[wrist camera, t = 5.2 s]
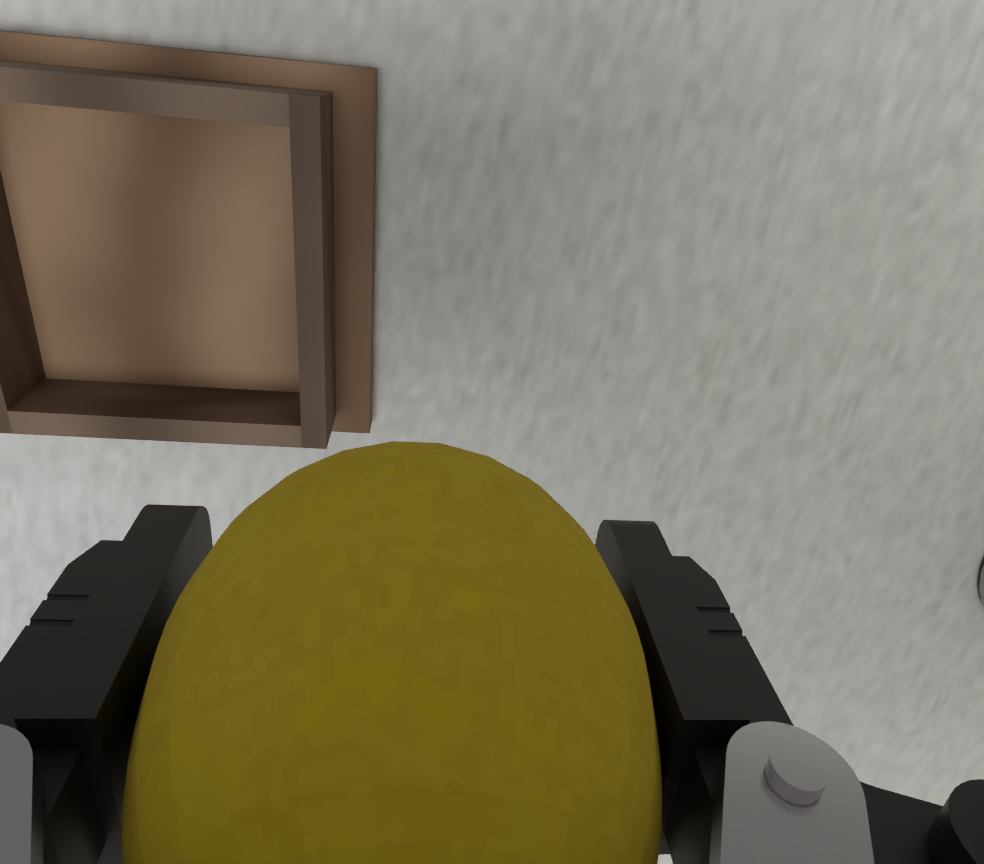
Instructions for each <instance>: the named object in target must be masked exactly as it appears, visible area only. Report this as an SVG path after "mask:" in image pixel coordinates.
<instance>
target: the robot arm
mask: <svg viewBox="0 0 984 864" xmlns="http://www.w3.org/2000/svg"><path fill="white" fill-rule="evenodd" d="M595 547H596V548H597V550H598V552H599V554H600V556H601V558H602V559H603V561H604V563H605V565H606V567H607V568H608V570H609V572H610V574H611V576H612V577H613V579H614V581H615V583H616V585H617V587H618V589H619V590H620V592H621V594H622V596H623V598H624V600H625V602H626V604H627V606H628V608H629V611H630V613H631V616H632V618H633V621H634V623H635V626H636V628H637V631H638V635H639V638H640V642H641V645H642V649H643V652H644V657H645V662H646V667H647V672H648V677H649V682H650V688H651V694H652V700H653V706H654V712H655V718H656V724H657V732H658V741H659V749H660V758H661V776H662V829H661V837H660V845H659V853H658V854H671V858H672V861H673V864H984V780H980V779H979V780H970V781H967V782H964V783H961V784H960V785H959V786H957V787H956V788H955V789H954V790H953V792H952V793H951V795H950V796H949V798H948V800H947V801H946V803H945V804H944V806H940V805H937V804H933V803H930V802H926V801H923V800H919V799H915V798H912V797H908V796H905V795H901V794H898V793H894V792H891V791H887V790H884V789H880V788H877V787H874V786H871V785H868V784H865V783H863V782H860V781H859V779H858V778H857V776H856V775H855V773H854V771H853V770H852V768H851V767H850V766H849V765H848V763H847V762H846V761H845V760H844V759H843V758H842V757H841V756H840V755H839V754H838V753H837V752H836V751H835V750H834V749H833V748H832V747H830V746H829V745H828V744H827V743H825V742H824V741H822V740H821V739H819V738H818V737H816V736H815V735H813V734H811V733H809V732H807V731H805V730H803V729H800V728H797V727H795V726H793V724H792V722H791V720H790V718H789V716H788V715H787V713H786V711H785V709H784V707H783V705H782V703H781V702H780V700H779V698H778V696H777V694H776V692H775V690H774V689H773V687H772V685H771V683H770V681H769V679H768V677H767V675H766V674H765V672H764V670H763V668H762V666H761V664H760V662H759V661H758V659H757V657H756V655H755V653H754V651H753V649H752V647H751V646H750V644H749V642H748V640H747V638H746V636H743V635H742V629H741V627H740V625H739V623H738V621H737V619H736V618H735V616H734V614H733V613H730V606H729V605H728V603H727V601H726V599H725V597H724V595H723V593H722V591H721V590H720V588H719V586H718V584H717V582H716V580H715V579H714V578H712V577H711V576H710V575H709V574H708V573H707V572H706V571H705V570H704V569H702V568H701V567H700V566H699V565H698V564H697V563H696V562H695V561H694V560H693V559H691V558H690V557H686V556H672V555H671V553H670V551H669V549H668V546H667V544H666V542H665V540H664V538H663V536H662V534H661V532H660V530H659V528H658V526H657V524H656V523H655V522H653V521H622V520H603V521H602V523H601V524H600V527H599V530H598V534H597V539H596V544H595ZM212 548H213V545H212V536H211V527H210V519H209V514H208V511H207V509H206V508H205V507H204V506H177V505H146V506H145V507H144V508H143V509H142V510H141V512H140V513H139V515H138V517H137V518H136V520H135V521H134V523H133V525H132V526H131V528H130V530H129V531H128V533H127V535H126V536H125V538H124V539H123V541H109V540H101V541H100V542H98V543H97V544H96V545H94V546H93V547H91V548H90V549H89V550H87V551H86V552H85V553H83V554H82V555H80V556H79V557H78V558H76V559H75V560H74V561H72V562H71V563H70V564H68V565H67V567H66V568H65V569H64V571H63V572H62V574H61V575H60V577H59V578H58V580H57V581H56V583H55V584H54V585H53V587H52V588H51V590H50V591H49V593H48V594H47V595H48V597H47V600H43V601H42V603H41V604H40V606H39V607H38V609H37V610H36V612H35V613H34V615H33V616H32V617H31V619H30V625H29V626H25V628H24V629H23V631H22V632H21V633H20V635H19V636H18V638H17V639H16V641H15V642H14V644H13V645H12V646H11V648H10V649H9V651H8V652H7V654H6V655H5V657H4V658H3V660H2V661H1V662H0V864H124V862H123V849H122V820H123V798H124V789H125V781H126V772H127V764H128V758H129V753H130V747H131V742H132V737H133V731H134V726H135V723H136V719H137V715H138V712H139V708H140V704H141V700H142V697H143V693H144V690H145V686H146V683H147V680H148V676H149V673H150V670H151V666H152V663H153V659H154V656H155V653H156V649H157V647H158V644H159V641H160V639H161V636H162V633H163V630H164V628H165V625H166V622H167V620H168V618H169V616H170V614H171V612H172V610H173V608H174V606H175V604H176V602H177V600H178V598H179V596H180V595H181V593H182V591H183V590H184V588H185V587H186V585H187V583H188V582H189V580H190V579H191V577H192V576H193V574H194V573H195V571H196V570H197V569H198V567H199V566H200V565H201V563H202V562H203V560H204V559H205V558H206V556H207V555H208V553H209V552H210V551H211V549H212ZM979 590H980V596H981V602H982V604H983V606H984V566H983V568H982V571H981V577H980V584H979Z"/></svg>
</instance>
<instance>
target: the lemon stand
mask: <svg viewBox="0 0 984 864" xmlns="http://www.w3.org/2000/svg"><path fill="white" fill-rule="evenodd" d="M376 105H377V68H370V67H360V66H350V65H340V64H330V63H320V62H310V61H300V60H290V59H280V58H270V57H260V56H250V55H240V54H230V53H220V52H210V51H201V50H191V49H181V48H171V47H161V46H151V45H141V44H131V43H121V42H111V41H101V40H91V39H81V38H71V37H61V36H51V35H41V34H31V33H21V32H11V31H2V30H0V433H14V434H34V435H54V436H75V437H95V438H116V439H136V440H157V441H177V442H198V443H218V444H238V445H259V446H279V447H300V448H320V449H326V448H327V445H328V441H329V438H330V434H331V431H335V432H355V433H370V428H371V423H372V378H373V310H374V241H375V173H376Z"/></svg>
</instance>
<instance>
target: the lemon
mask: <svg viewBox="0 0 984 864" xmlns="http://www.w3.org/2000/svg"><path fill="white" fill-rule="evenodd" d="M661 829H662V776H661V758H660V749H659V741H658V732H657V724H656V718H655V712H654V706H653V700H652V694H651V688H650V682H649V677H648V672H647V667H646V662H645V657H644V652H643V649H642V645H641V642H640V638H639V635H638V631H637V628H636V626H635V623H634V621H633V618H632V616H631V613H630V611H629V608H628V606H627V604H626V602H625V600H624V598H623V596H622V594H621V592H620V590H619V589H618V587H617V585H616V583H615V581H614V579H613V577H612V576H611V574H610V572H609V570H608V568H607V567H606V565H605V563H604V561H603V559H602V558H601V556H600V554H599V552H598V550H597V548H596V547H595V545H594V544H593V542H592V541H591V539H590V538H589V536H588V535H587V533H586V532H585V531H584V529H583V528H582V527H581V526H580V525H579V524H578V523H577V522H576V521H575V520H574V518H573V517H572V516H571V515H570V514H569V513H568V512H566V511H565V510H564V509H563V508H562V507H561V506H560V505H559V504H558V503H557V502H556V501H555V500H554V499H553V498H552V497H551V496H550V495H549V494H548V493H547V492H545V491H544V490H543V489H542V488H541V487H540V486H539V485H538V484H536V483H535V482H533V481H532V480H530V479H529V478H527V477H525V476H524V475H522V474H520V473H518V472H516V471H514V470H513V469H511V468H509V467H507V466H505V465H503V464H501V463H500V462H498V461H496V460H494V459H492V458H490V457H488V456H485V455H481V454H477V453H474V452H470V451H466V450H463V449H459V448H455V447H452V446H448V445H444V444H440V443H420V442H396V441H394V442H388V443H383V444H377V445H372V446H366V447H361V448H355V449H350V450H344V451H341V452H339V453H336V454H334V455H332V456H329V457H327V458H325V459H322V460H320V461H318V462H315V463H313V464H311V465H308V466H306V467H303V468H301V469H299V470H297V471H295V472H294V473H292V474H290V475H289V476H287V477H286V478H284V479H283V480H282V481H281V482H279V483H278V484H277V485H275V486H274V487H273V488H271V489H270V490H269V491H268V492H266V493H265V494H264V495H262V496H261V497H260V498H258V499H257V500H256V501H255V502H253V503H252V504H251V505H249V506H248V507H247V508H246V509H245V510H244V511H243V512H242V513H241V514H239V515H238V516H237V517H236V518H235V519H234V520H233V522H232V523H231V524H230V525H229V527H228V528H227V529H226V530H225V532H224V533H223V534H222V535H221V537H220V538H219V539H218V541H217V542H216V544H215V545H214V546H213V548H212V549H211V551H210V552H209V553H208V555H207V556H206V558H205V559H204V560H203V562H202V563H201V565H200V566H199V567H198V569H197V570H196V571H195V573H194V574H193V576H192V577H191V579H190V580H189V582H188V583H187V585H186V587H185V588H184V590H183V591H182V593H181V595H180V596H179V598H178V600H177V602H176V604H175V606H174V608H173V610H172V612H171V614H170V616H169V618H168V620H167V622H166V625H165V628H164V630H163V633H162V636H161V639H160V641H159V644H158V647H157V649H156V653H155V656H154V659H153V663H152V666H151V670H150V673H149V676H148V680H147V683H146V686H145V690H144V693H143V697H142V700H141V704H140V708H139V712H138V715H137V719H136V723H135V726H134V731H133V737H132V742H131V747H130V753H129V758H128V764H127V772H126V781H125V789H124V798H123V820H122V849H123V862H124V864H657V861H658V853H659V845H660V837H661Z"/></svg>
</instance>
